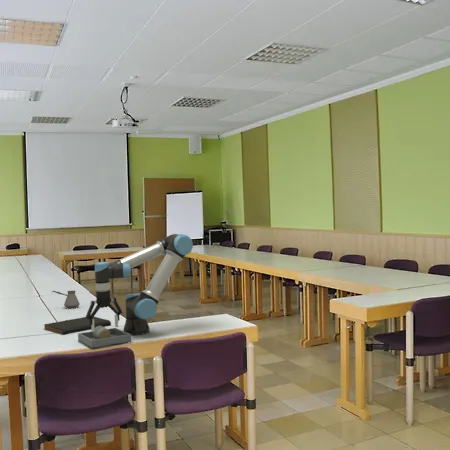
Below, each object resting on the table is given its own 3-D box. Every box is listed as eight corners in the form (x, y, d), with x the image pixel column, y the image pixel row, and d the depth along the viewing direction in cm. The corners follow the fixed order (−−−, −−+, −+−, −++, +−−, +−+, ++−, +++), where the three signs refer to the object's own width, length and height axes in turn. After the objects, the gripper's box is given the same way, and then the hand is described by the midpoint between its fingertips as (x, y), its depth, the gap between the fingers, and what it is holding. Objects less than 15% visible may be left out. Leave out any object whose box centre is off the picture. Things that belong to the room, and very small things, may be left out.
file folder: (90, 315, 346) (111, 320, 330) (90, 321, 346) (111, 326, 330) (43, 323, 323) (63, 329, 306) (43, 330, 323) (63, 336, 306)
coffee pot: (75, 305, 407) (74, 286, 407) (82, 307, 398) (81, 288, 398) (49, 309, 393) (48, 290, 393) (55, 311, 384) (54, 291, 384)
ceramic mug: (99, 343, 279) (98, 328, 279) (92, 340, 285) (92, 326, 285) (117, 340, 286) (116, 326, 286) (110, 337, 292) (110, 324, 292)
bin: (115, 335, 301) (115, 327, 301) (131, 342, 283) (131, 334, 282) (78, 341, 289) (78, 333, 288) (92, 349, 270) (91, 340, 270)
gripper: (121, 286, 295) (123, 324, 296) (78, 292, 281) (80, 331, 282) (126, 288, 289) (128, 326, 290) (82, 294, 275) (85, 333, 276)
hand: (105, 328), depth 286 cm, fingers open, 13 cm apart
